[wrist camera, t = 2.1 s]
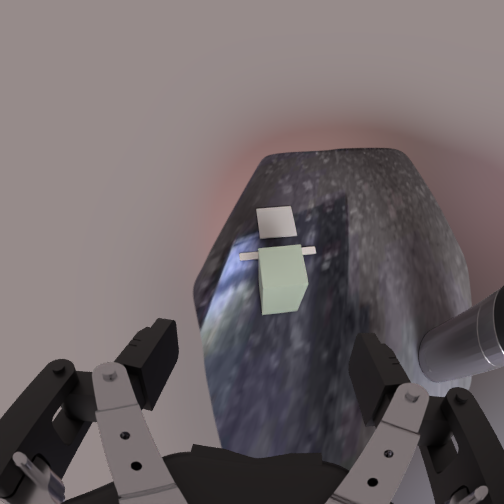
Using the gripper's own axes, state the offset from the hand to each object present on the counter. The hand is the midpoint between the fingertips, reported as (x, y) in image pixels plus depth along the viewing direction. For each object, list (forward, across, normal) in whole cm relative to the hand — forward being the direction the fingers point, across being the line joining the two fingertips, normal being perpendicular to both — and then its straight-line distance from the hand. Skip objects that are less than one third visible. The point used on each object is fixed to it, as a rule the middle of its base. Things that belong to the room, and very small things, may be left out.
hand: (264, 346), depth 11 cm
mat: (+36, -1, 0) cm, 36 cm away
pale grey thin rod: (+32, -1, +5) cm, 32 cm away
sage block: (+27, -2, +10) cm, 28 cm away
